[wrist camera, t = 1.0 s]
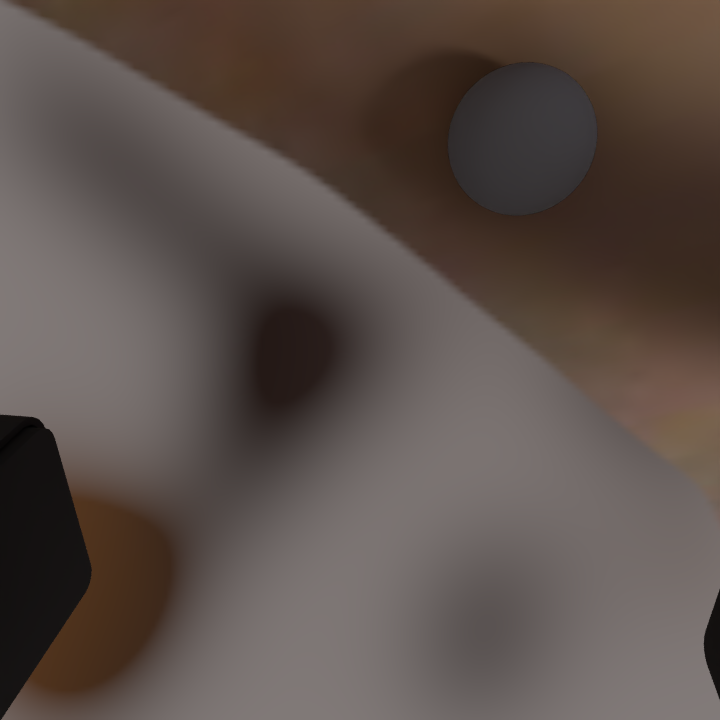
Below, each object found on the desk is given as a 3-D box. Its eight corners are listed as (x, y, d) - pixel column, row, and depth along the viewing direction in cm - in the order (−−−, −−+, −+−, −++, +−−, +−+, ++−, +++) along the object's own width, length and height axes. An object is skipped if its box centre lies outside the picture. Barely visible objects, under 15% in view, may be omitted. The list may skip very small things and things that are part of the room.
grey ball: (601, 159, 27) (633, 192, 23) (479, 216, 29) (484, 257, 24) (555, 29, 25) (579, 35, 21) (426, 99, 27) (420, 119, 22)
